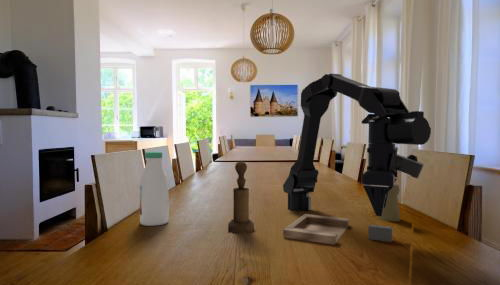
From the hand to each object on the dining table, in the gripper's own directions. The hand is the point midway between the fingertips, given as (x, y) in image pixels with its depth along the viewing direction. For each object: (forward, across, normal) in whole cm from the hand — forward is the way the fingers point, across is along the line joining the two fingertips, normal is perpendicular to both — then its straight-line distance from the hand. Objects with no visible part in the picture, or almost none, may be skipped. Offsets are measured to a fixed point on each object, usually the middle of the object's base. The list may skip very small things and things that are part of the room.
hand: (380, 211), depth 77 cm
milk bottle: (+7, -10, +59) cm, 60 cm away
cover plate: (+8, 0, 0) cm, 8 cm away
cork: (+7, +21, 0) cm, 22 cm away
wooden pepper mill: (+7, -7, +33) cm, 34 cm away
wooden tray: (+7, 0, +15) cm, 16 cm away
